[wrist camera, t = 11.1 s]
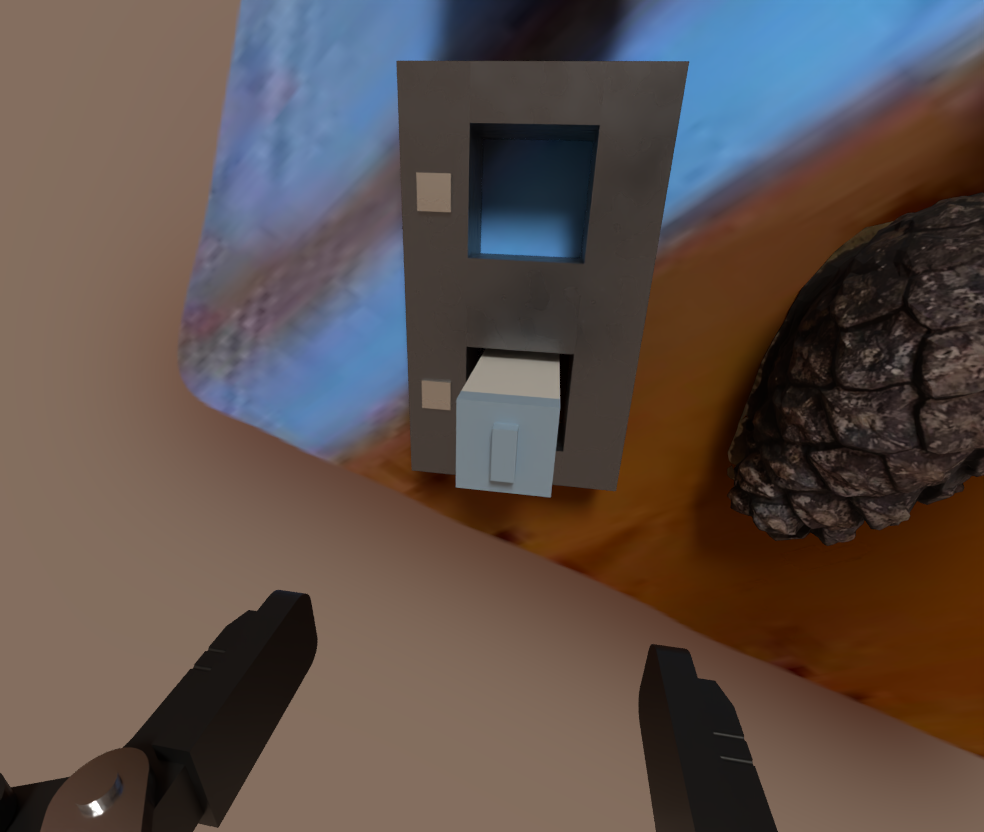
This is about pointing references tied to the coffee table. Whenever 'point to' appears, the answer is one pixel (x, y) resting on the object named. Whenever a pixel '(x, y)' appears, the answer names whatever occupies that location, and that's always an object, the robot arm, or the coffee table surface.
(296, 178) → the coffee table surface
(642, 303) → the panel
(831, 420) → the pine cone
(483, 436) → the plug
